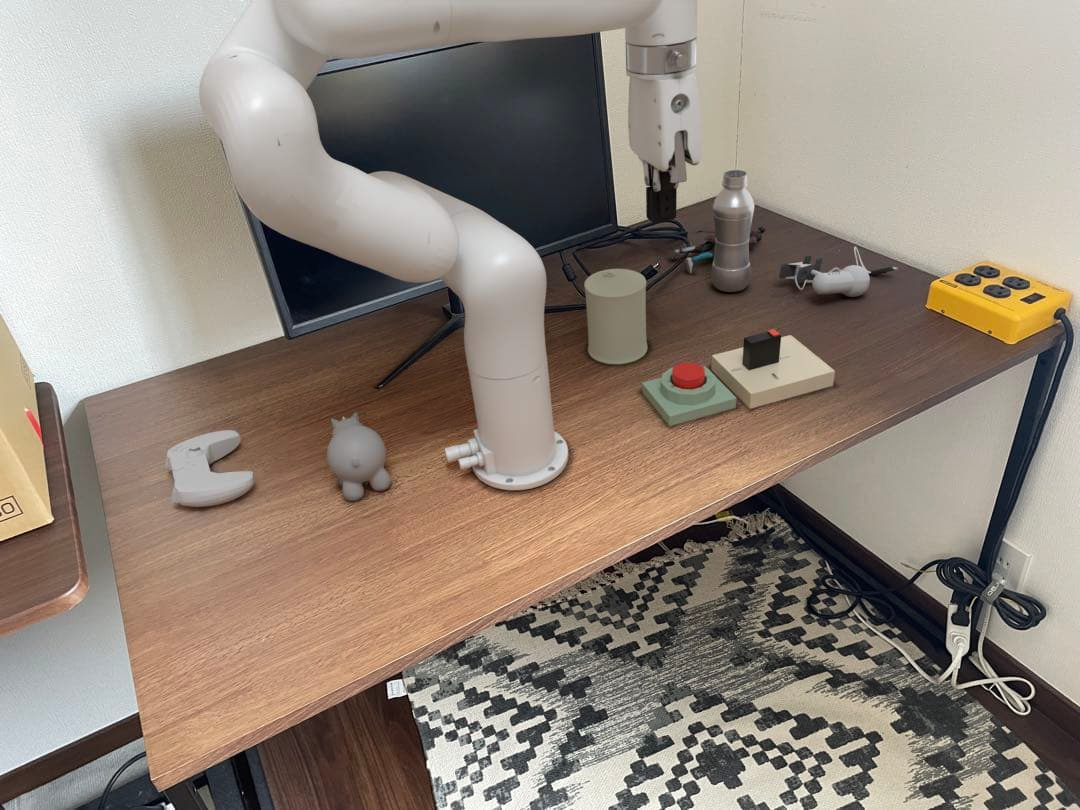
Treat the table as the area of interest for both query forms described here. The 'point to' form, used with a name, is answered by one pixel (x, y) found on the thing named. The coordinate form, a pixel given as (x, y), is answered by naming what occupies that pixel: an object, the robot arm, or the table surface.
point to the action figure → (710, 248)
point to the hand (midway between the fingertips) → (661, 218)
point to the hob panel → (774, 374)
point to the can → (616, 316)
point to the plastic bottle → (732, 233)
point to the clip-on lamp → (831, 276)
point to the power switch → (687, 398)
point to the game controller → (206, 470)
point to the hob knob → (761, 349)
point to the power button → (688, 376)
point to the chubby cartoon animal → (357, 457)
